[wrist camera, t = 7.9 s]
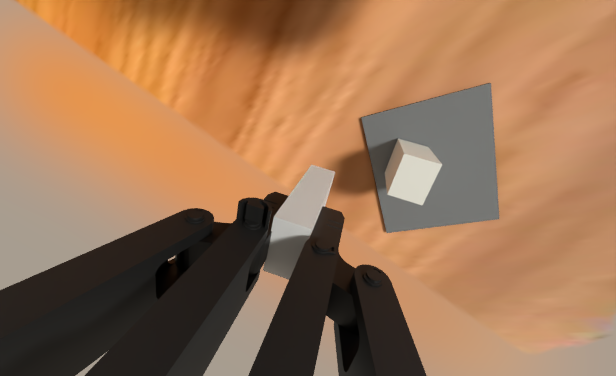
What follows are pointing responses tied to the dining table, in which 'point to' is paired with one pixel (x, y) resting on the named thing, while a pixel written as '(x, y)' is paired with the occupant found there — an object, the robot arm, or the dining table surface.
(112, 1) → the dining table surface
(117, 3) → the dining table surface
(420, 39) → the dining table surface
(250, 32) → the dining table surface
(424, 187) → the white block
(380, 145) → the mat
